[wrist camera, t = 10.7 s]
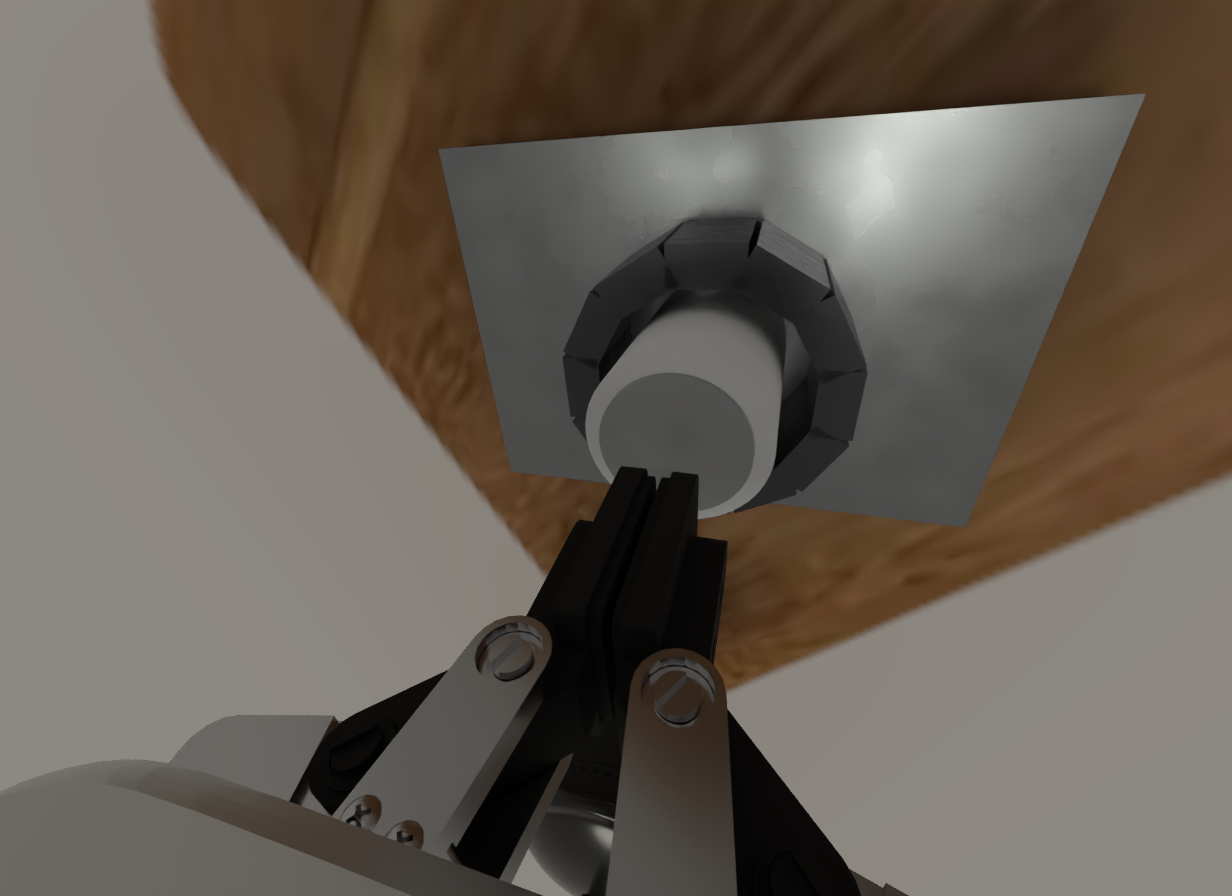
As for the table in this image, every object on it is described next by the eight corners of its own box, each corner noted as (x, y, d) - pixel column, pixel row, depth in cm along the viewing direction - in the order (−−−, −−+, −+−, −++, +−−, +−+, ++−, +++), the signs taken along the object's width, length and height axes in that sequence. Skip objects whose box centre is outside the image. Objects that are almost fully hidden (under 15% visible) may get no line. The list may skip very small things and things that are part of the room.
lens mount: (467, 146, 19) (359, 156, 14) (1104, 96, 14) (1274, 85, 9) (527, 450, 27) (470, 523, 22) (951, 496, 21) (999, 607, 16)
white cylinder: (640, 286, 18) (561, 365, 12) (784, 267, 16) (770, 349, 10) (660, 408, 21) (602, 521, 15) (788, 403, 19) (779, 530, 13)
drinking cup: (763, 558, 26) (720, 1255, 10) (718, 638, 31) (640, 1207, 15) (626, 510, 27) (389, 1080, 11) (602, 595, 31) (410, 1086, 16)
